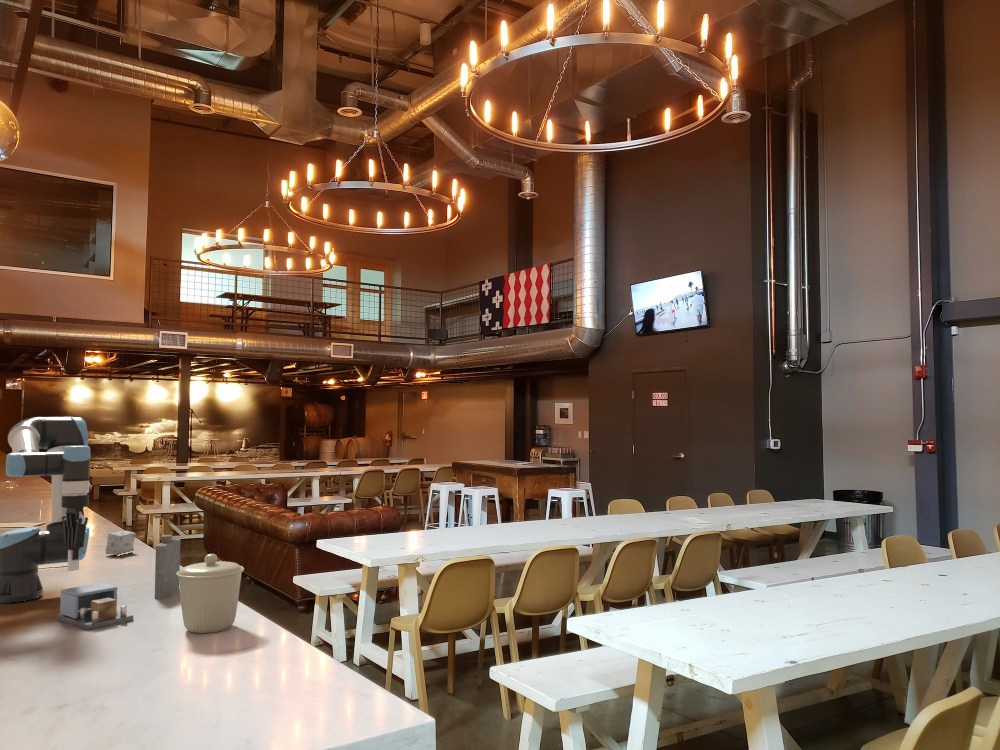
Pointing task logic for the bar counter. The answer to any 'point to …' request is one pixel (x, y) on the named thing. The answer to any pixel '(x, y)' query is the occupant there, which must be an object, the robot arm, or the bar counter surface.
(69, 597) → the housing cover
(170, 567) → the hip flask
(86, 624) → the housing base
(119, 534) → the incense holder
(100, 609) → the light brown cube
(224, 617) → the canister
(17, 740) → the bar counter surface
